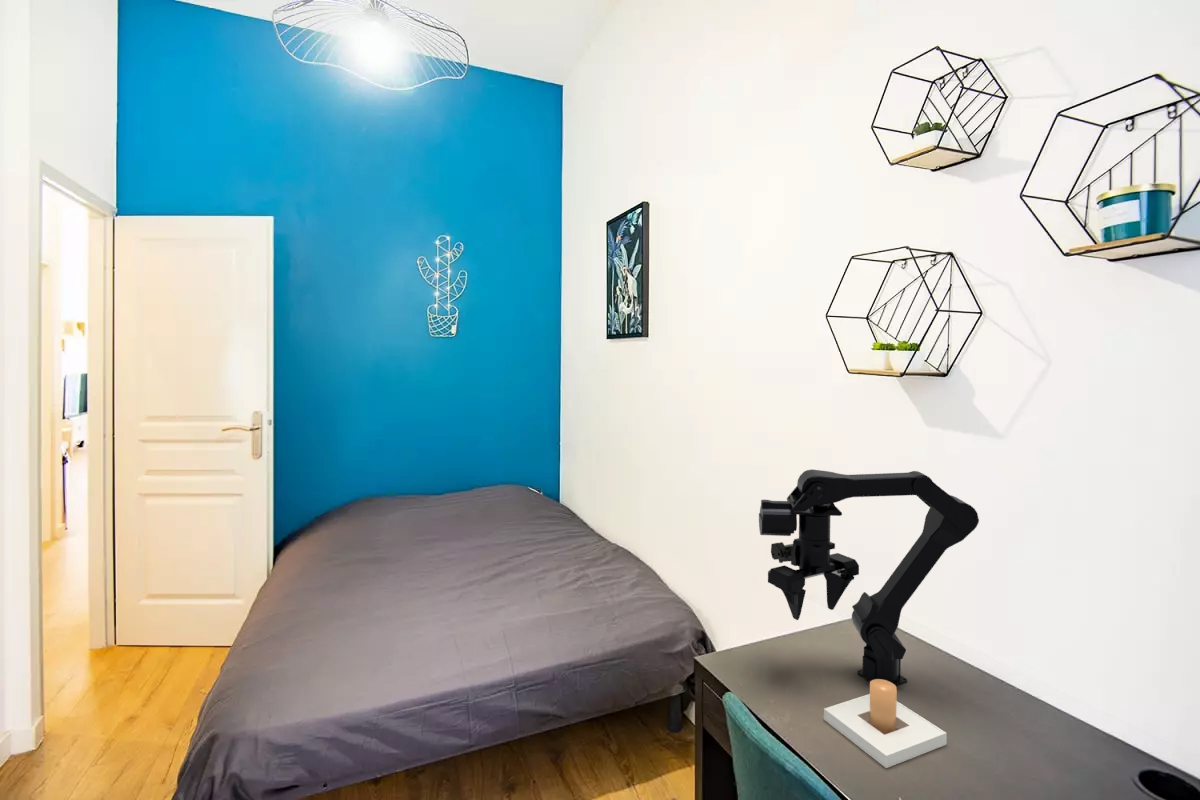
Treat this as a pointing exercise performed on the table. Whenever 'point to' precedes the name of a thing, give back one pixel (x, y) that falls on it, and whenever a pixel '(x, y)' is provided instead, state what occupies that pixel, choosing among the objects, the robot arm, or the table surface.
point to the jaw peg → (883, 705)
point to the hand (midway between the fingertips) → (813, 614)
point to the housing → (890, 747)
